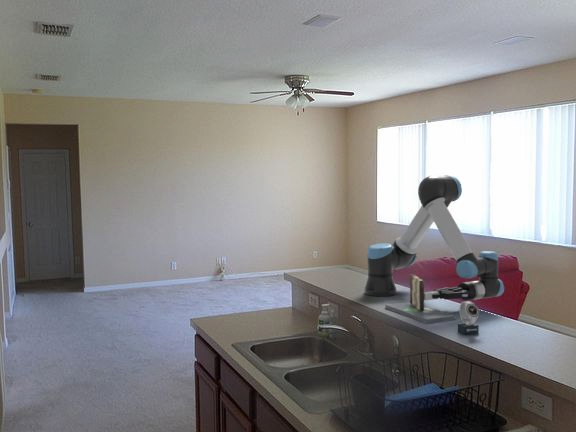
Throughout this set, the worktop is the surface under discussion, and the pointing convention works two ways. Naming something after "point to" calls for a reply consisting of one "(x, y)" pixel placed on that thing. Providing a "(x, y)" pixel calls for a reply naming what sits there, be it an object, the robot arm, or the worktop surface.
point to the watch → (472, 313)
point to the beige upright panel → (417, 292)
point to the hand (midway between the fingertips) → (424, 296)
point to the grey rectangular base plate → (420, 312)
